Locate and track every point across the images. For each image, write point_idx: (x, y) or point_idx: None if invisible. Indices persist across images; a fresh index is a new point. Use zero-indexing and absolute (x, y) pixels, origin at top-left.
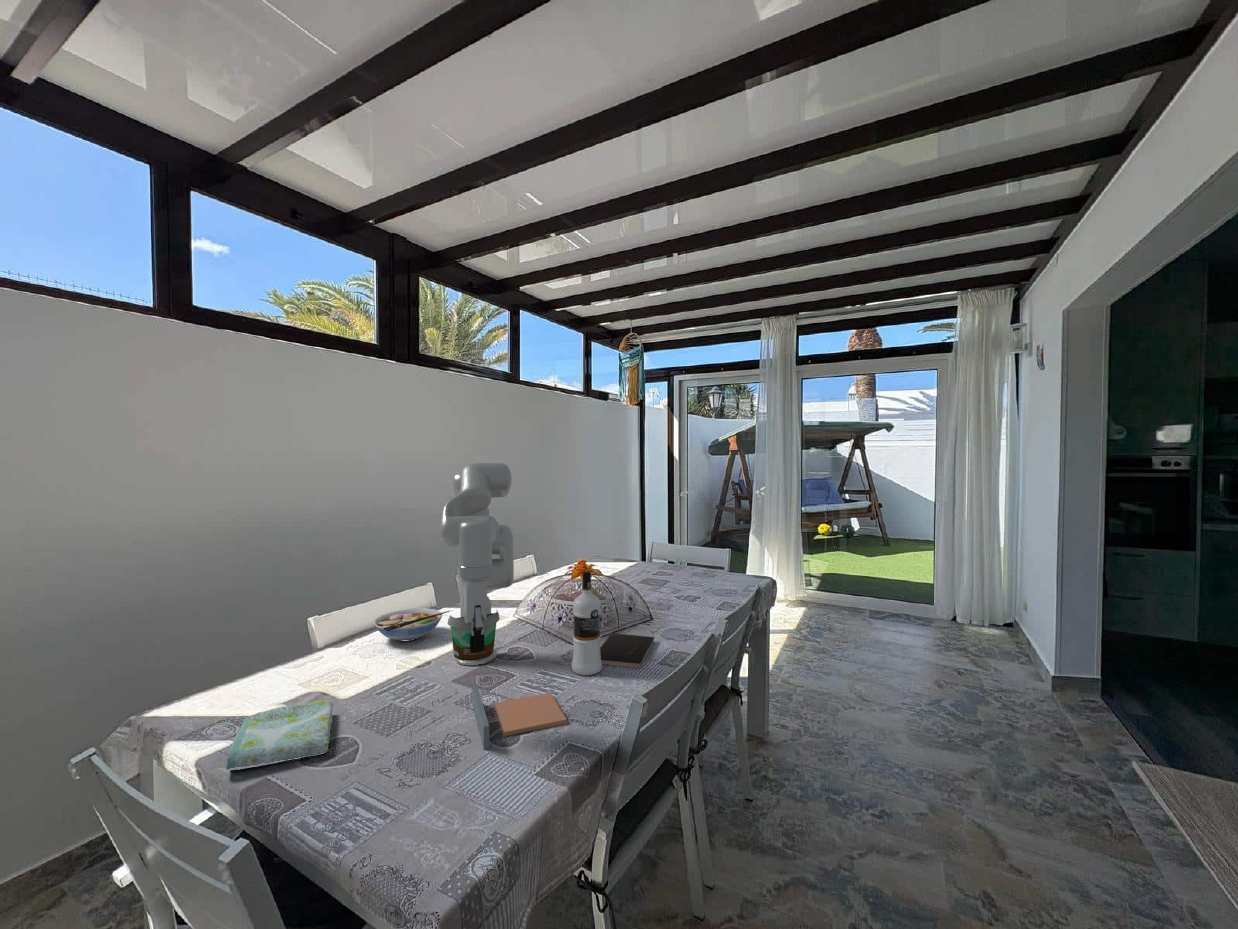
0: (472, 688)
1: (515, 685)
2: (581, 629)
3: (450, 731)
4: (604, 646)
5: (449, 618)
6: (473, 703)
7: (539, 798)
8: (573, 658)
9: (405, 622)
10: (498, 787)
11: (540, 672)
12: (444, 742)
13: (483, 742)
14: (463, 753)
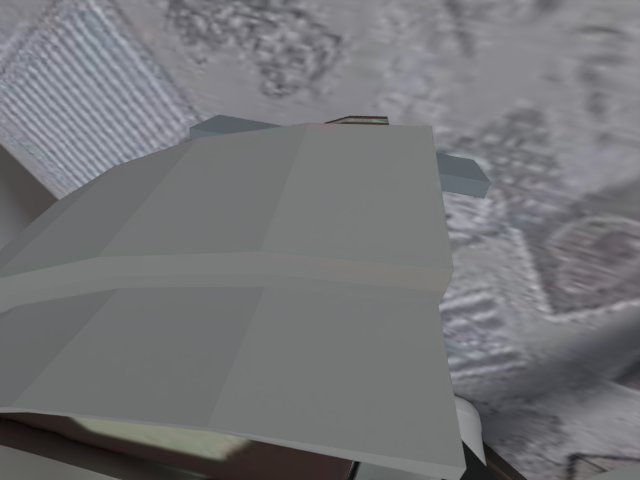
0: (481, 178)
1: (493, 290)
2: None
3: (350, 50)
4: (498, 475)
5: (297, 264)
6: (443, 159)
7: (37, 157)
8: (459, 424)
9: None
10: (72, 99)
11: (513, 355)
12: (295, 16)
13: (214, 118)
14: (218, 59)
